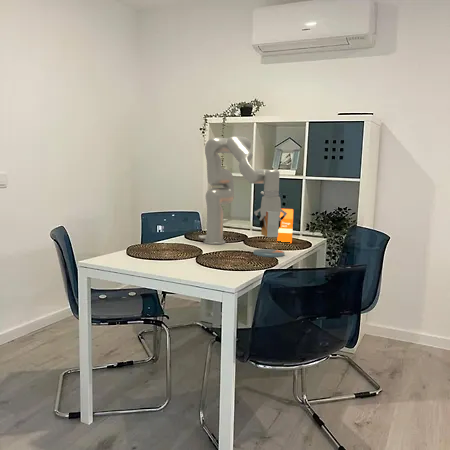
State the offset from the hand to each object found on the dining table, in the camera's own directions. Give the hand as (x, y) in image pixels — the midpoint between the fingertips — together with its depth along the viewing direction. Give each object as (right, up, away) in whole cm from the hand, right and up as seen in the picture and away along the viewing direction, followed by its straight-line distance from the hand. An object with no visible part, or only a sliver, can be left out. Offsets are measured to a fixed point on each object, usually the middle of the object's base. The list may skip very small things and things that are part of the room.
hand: (269, 228), depth 243 cm
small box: (0, -4, +1) cm, 4 cm away
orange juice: (+13, -9, +42) cm, 44 cm away
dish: (0, -13, +2) cm, 14 cm away
